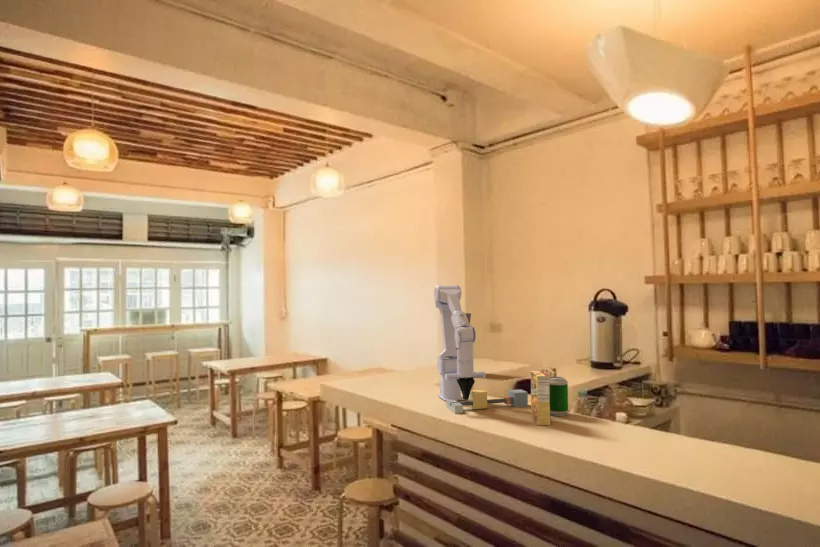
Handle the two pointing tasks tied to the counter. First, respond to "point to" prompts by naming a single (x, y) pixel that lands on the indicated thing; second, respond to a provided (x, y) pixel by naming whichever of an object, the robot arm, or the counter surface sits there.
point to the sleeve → (478, 399)
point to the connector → (518, 398)
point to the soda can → (558, 396)
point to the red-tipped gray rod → (488, 401)
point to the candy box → (540, 397)
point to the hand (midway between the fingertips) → (465, 399)
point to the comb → (454, 406)
